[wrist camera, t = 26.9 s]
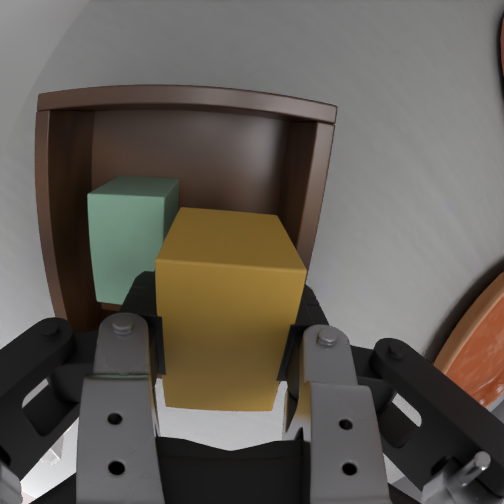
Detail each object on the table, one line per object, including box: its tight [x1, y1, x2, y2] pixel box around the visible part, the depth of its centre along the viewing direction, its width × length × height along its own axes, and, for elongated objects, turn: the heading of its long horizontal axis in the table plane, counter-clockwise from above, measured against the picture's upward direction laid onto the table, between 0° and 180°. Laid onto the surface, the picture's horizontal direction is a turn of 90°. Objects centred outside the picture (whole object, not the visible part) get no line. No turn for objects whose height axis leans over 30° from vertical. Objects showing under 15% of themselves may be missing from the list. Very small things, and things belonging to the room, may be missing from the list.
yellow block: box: [155, 207, 307, 411], centre depth 10 cm, size 6×4×4 cm, turn 173°
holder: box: [35, 85, 337, 384], centre depth 15 cm, size 15×13×6 cm
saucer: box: [433, 271, 504, 408], centre depth 24 cm, size 23×23×4 cm
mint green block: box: [87, 176, 180, 305], centre depth 15 cm, size 6×4×4 cm, turn 173°
